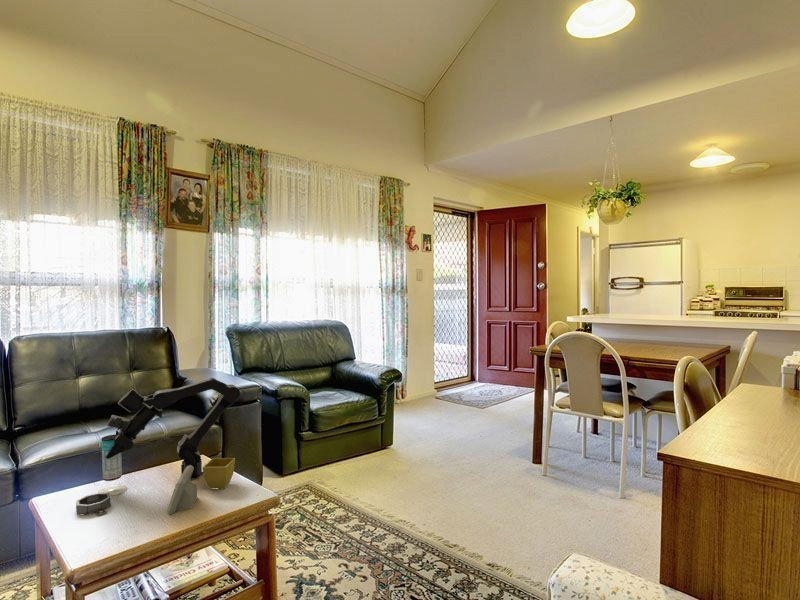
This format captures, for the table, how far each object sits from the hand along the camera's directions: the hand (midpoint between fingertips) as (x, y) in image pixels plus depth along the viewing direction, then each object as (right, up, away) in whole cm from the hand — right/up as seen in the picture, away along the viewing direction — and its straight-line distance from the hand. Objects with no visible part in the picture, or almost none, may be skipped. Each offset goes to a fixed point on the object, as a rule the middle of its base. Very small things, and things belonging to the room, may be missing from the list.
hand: (107, 455), depth 169 cm
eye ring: (+3, -13, -12) cm, 19 cm away
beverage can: (+1, -9, +1) cm, 9 cm away
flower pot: (+39, -13, +3) cm, 41 cm away
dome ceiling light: (+1, -13, +1) cm, 13 cm away
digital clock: (+31, -13, -11) cm, 36 cm away
